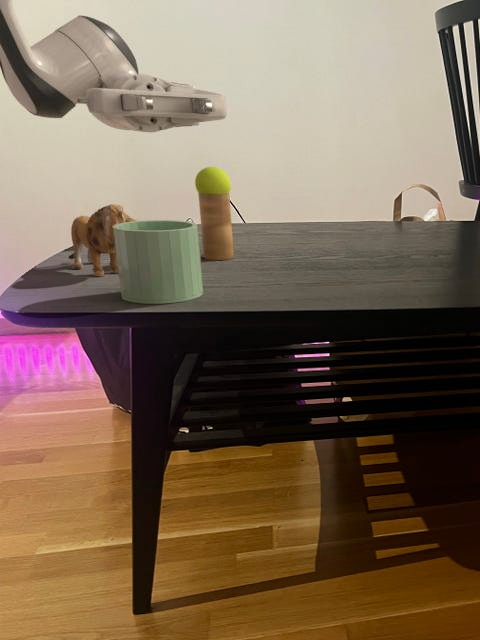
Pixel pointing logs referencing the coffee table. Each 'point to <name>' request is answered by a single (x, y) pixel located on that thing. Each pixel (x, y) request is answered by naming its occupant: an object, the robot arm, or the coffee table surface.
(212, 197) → the ball peg
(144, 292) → the green faceted pot
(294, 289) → the coffee table surface
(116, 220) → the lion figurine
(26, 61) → the robot arm
